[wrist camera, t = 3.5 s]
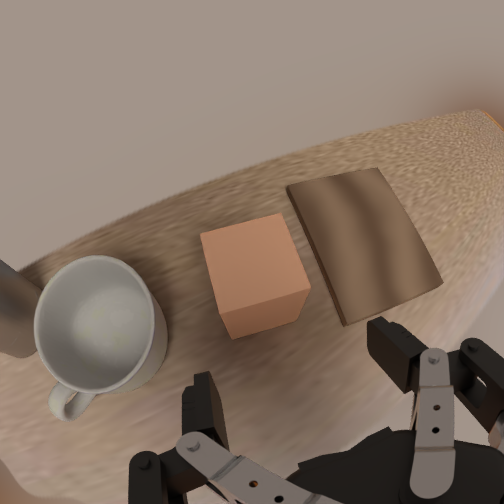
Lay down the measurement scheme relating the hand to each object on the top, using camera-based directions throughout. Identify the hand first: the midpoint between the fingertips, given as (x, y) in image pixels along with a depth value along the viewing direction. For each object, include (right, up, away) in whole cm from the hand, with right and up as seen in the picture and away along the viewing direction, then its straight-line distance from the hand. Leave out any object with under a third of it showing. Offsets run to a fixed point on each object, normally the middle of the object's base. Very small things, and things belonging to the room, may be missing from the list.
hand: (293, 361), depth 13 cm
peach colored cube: (-2, +1, +14) cm, 14 cm away
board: (+10, +7, +17) cm, 20 cm away
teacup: (-15, -5, +12) cm, 19 cm away
